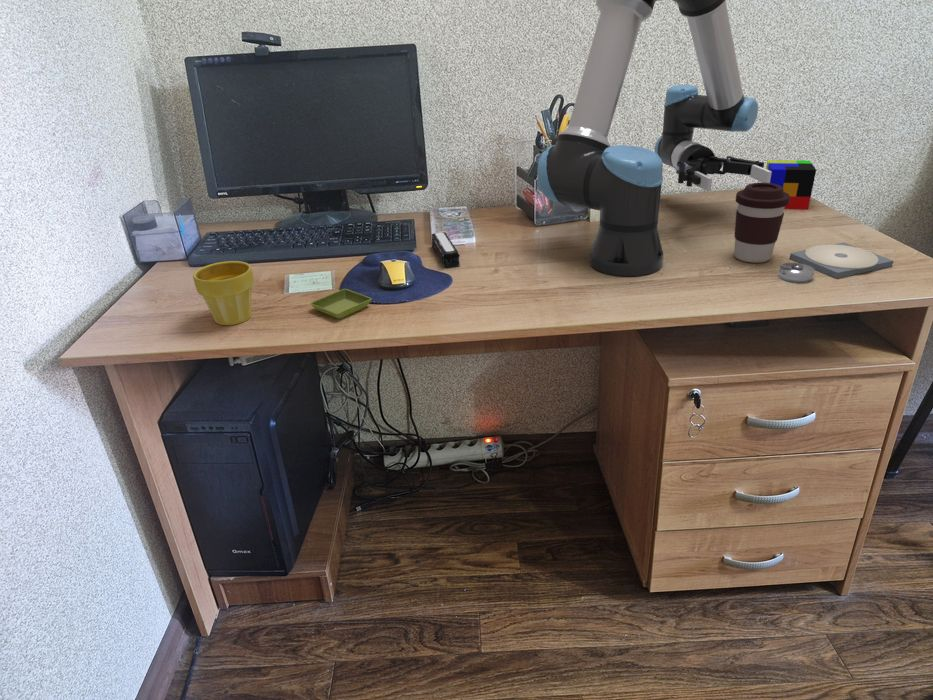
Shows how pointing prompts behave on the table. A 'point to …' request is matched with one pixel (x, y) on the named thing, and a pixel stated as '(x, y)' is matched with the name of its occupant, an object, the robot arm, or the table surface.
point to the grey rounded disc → (796, 272)
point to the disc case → (840, 259)
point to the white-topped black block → (445, 250)
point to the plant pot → (226, 290)
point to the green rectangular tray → (341, 303)
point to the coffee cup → (758, 221)
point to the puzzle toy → (794, 180)
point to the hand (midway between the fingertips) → (739, 181)
